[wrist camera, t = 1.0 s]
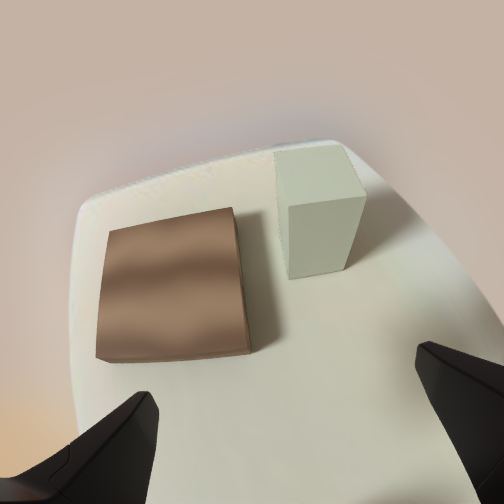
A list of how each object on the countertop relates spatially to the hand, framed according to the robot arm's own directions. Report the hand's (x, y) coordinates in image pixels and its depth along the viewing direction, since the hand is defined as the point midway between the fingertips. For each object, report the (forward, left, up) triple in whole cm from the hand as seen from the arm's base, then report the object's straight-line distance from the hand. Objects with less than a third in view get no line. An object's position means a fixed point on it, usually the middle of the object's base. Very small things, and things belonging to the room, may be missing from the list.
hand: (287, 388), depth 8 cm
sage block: (+12, -4, -14) cm, 19 cm away
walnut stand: (+10, +9, -14) cm, 19 cm away
